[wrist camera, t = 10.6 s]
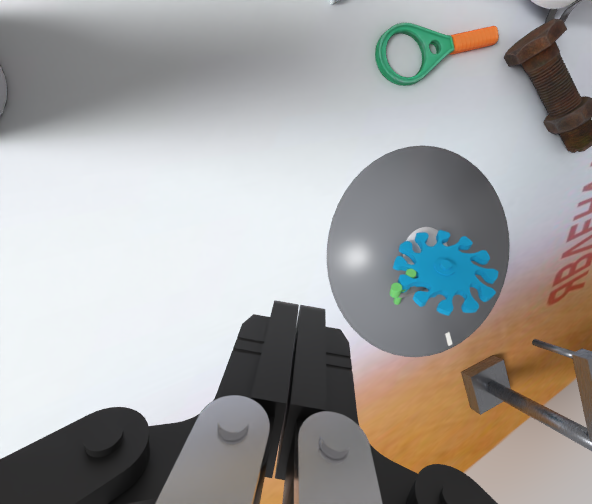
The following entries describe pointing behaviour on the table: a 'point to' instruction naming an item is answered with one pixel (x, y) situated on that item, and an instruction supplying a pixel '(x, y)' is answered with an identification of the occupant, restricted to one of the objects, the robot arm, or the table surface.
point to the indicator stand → (495, 389)
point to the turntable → (403, 227)
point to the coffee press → (556, 7)
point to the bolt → (554, 85)
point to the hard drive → (333, 1)
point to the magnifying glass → (429, 60)
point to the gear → (442, 273)
